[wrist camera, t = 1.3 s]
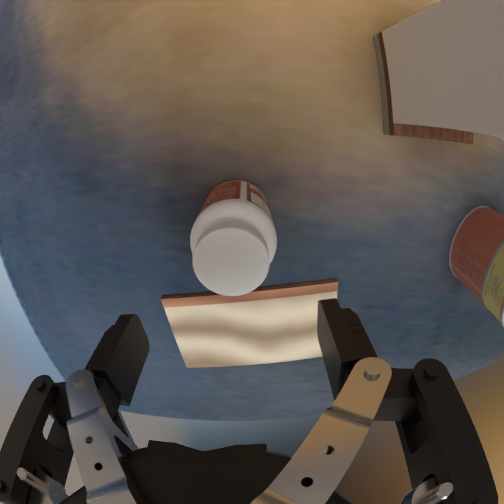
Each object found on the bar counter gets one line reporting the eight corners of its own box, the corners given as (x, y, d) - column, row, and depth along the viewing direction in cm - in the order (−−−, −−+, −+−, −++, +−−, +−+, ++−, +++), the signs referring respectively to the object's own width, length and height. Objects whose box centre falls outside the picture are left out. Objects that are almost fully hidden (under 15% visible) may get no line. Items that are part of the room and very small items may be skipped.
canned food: (506, 230, 27) (557, 267, 17) (469, 289, 32) (513, 337, 21) (478, 189, 25) (544, 224, 14) (436, 260, 29) (491, 315, 18)
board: (162, 295, 31) (160, 299, 30) (336, 278, 30) (338, 282, 29) (187, 364, 36) (186, 367, 35) (330, 351, 35) (331, 355, 34)
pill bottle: (200, 233, 27) (175, 296, 17) (210, 173, 25) (185, 206, 15) (261, 244, 28) (268, 313, 18) (275, 186, 25) (294, 227, 15)
